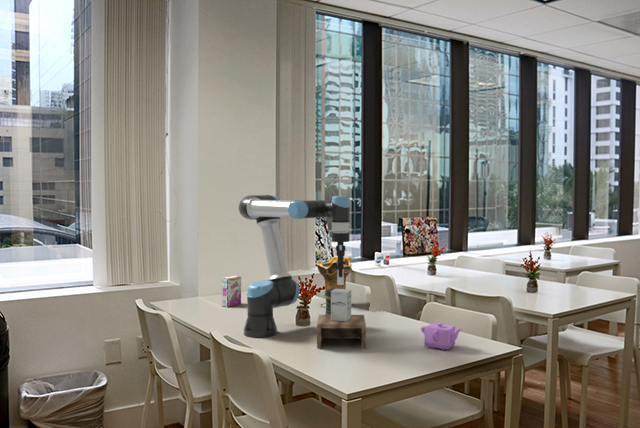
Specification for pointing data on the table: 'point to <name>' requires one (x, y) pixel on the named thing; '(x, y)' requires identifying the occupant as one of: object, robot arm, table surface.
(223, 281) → the candy bar box
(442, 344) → the teapot
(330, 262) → the decorative vase
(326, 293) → the coffee jar
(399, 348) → the table surface
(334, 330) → the walnut shelf
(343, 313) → the supplement box
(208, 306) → the table surface
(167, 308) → the table surface
